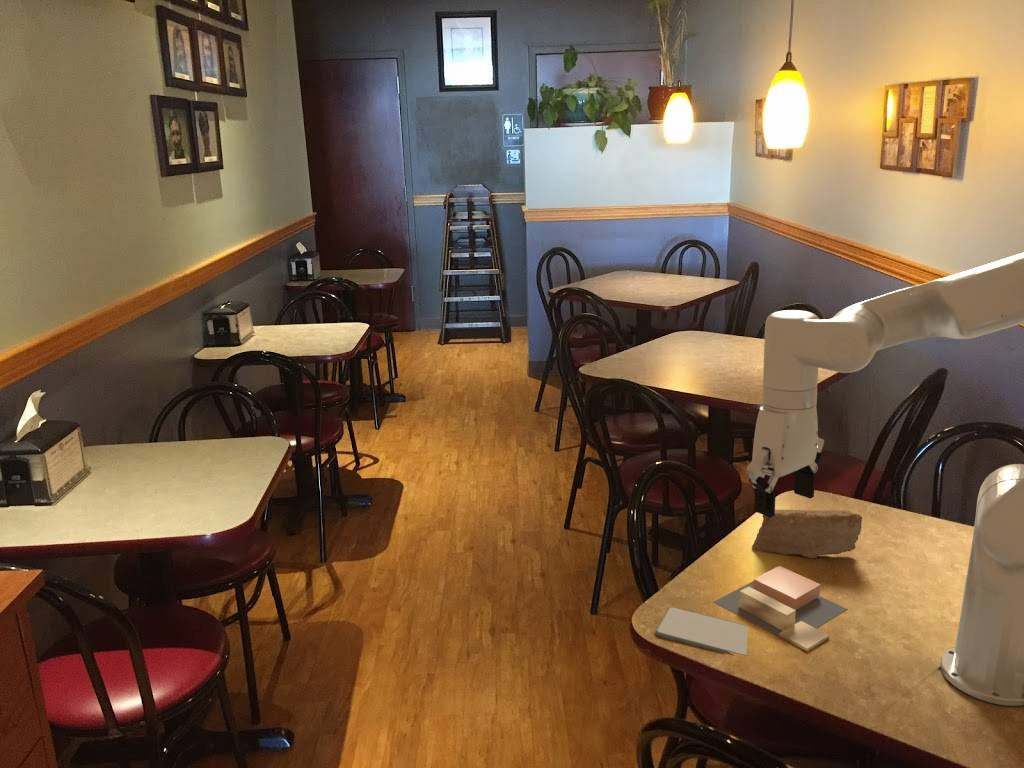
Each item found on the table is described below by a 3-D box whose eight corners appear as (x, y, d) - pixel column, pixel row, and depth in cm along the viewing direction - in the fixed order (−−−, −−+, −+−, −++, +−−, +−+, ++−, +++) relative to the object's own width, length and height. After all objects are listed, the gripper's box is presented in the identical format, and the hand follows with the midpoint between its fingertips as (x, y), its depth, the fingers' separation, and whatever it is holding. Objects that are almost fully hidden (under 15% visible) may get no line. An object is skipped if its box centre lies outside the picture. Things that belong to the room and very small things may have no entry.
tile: (820, 584, 138) (779, 565, 144) (795, 598, 134) (753, 579, 140) (819, 597, 139) (778, 578, 145) (794, 612, 134) (752, 591, 141)
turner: (732, 610, 135) (733, 594, 134) (753, 599, 138) (755, 583, 138) (807, 651, 124) (808, 633, 124) (828, 638, 128) (830, 621, 127)
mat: (847, 611, 135) (847, 609, 135) (791, 645, 127) (791, 643, 126) (769, 574, 147) (769, 572, 147) (712, 603, 138) (713, 601, 138)
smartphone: (752, 657, 123) (654, 631, 130) (752, 663, 124) (653, 637, 130) (763, 628, 130) (669, 605, 137) (763, 634, 131) (669, 610, 137)
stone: (751, 546, 157) (752, 559, 154) (751, 504, 153) (752, 516, 150) (857, 550, 152) (860, 563, 149) (860, 506, 148) (863, 518, 145)
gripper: (802, 379, 130) (797, 482, 134) (730, 403, 120) (727, 513, 125) (846, 389, 124) (839, 496, 129) (774, 415, 114) (770, 530, 119)
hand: (784, 504), depth 127 cm, fingers open, 9 cm apart
